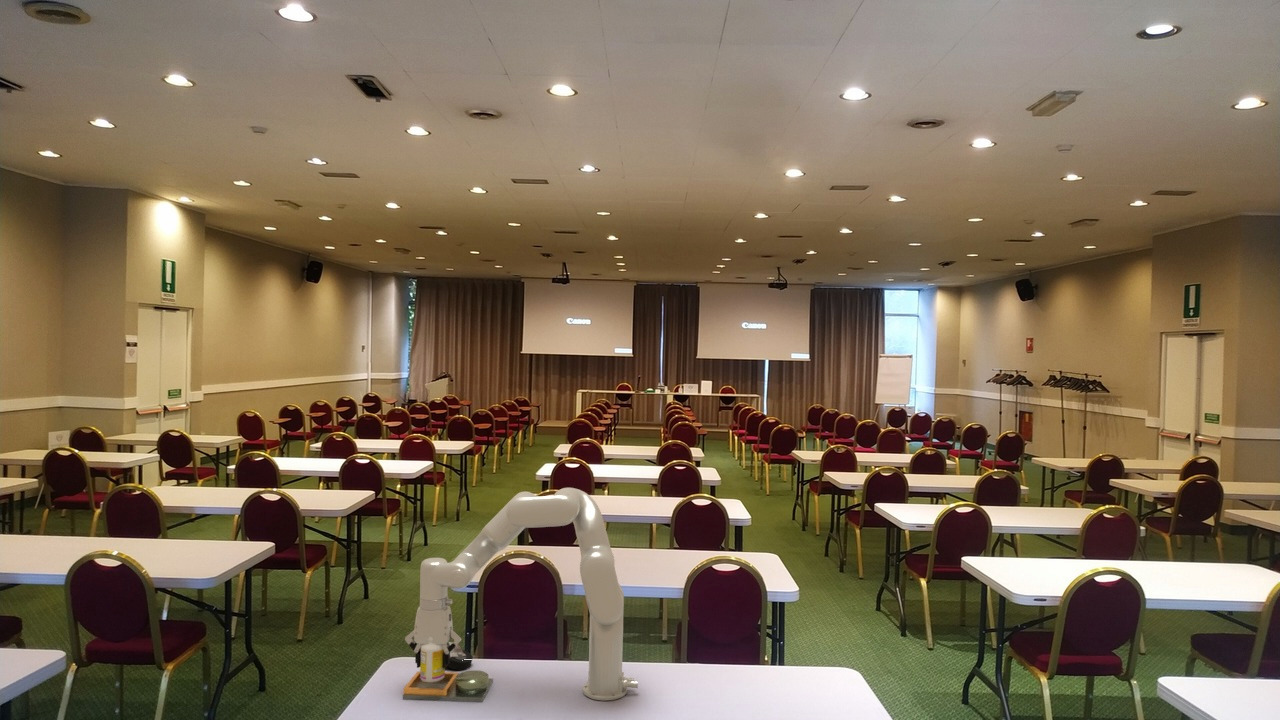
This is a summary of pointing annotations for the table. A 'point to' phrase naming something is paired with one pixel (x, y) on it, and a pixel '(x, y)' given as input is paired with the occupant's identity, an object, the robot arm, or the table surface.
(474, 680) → the grey base plate
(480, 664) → the table surface
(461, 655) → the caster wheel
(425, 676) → the supplement bottle
